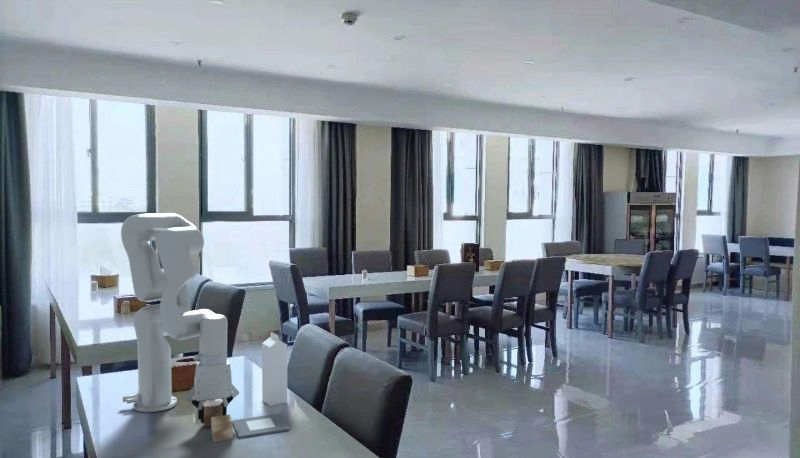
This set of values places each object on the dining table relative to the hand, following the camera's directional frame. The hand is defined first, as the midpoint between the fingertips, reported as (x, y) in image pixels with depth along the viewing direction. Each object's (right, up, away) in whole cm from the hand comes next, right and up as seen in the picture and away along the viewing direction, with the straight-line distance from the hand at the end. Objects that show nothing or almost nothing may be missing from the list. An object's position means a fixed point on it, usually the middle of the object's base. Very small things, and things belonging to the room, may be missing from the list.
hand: (212, 419), depth 168 cm
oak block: (+5, -2, -7) cm, 9 cm away
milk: (+14, -1, +20) cm, 24 cm away
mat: (+14, -2, 0) cm, 14 cm away
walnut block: (0, -1, 0) cm, 1 cm away
